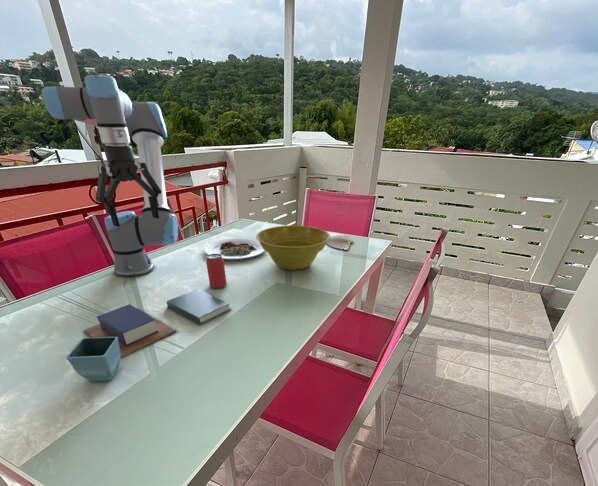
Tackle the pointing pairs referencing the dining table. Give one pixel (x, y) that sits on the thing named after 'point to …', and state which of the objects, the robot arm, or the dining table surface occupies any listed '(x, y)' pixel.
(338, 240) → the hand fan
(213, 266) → the beer can
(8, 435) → the dining table surface
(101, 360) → the flower pot
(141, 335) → the navy book
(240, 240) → the plated food
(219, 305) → the green notebook
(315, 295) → the dining table surface
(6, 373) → the dining table surface
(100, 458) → the dining table surface
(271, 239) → the planter bowl
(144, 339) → the brown wooden board
